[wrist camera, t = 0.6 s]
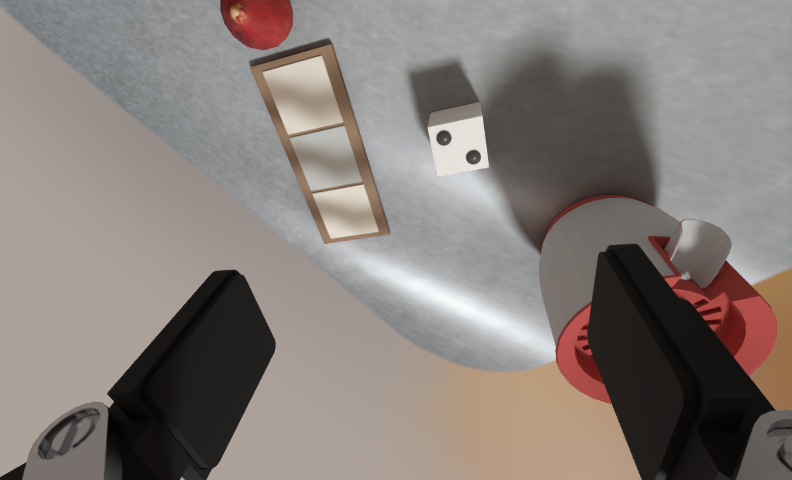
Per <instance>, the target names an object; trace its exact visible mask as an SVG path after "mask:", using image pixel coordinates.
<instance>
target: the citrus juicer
mask: <svg viewBox="0 0 792 480" xmlns="http://www.w3.org/2000/svg"><path fill="white" fill-rule="evenodd" d="M634 243H635V244H638V245H639V246H640V247H641V248H642V250H643V251H644V252H645V254H646V255H647V256H648V258H649V259H650V260H651V262H652V263H653V264H654V266H655V267H656V268H657V270H658V271H659V272H660V274H661V275H662V276H663V278H664V279H665V280H666V281H667V283H668V284H669V285H670V287H671V288H672V289H673V291H674V292H675V293H676V295H677V296H678V297H679V298H684V299H686V300H688V301H689V302H690V303H691V304H692V305H693V306H694V307H695V308H696V310H697V311H698V312H699V313H700V315H701V316H702V317H703V318H704V320H705V321H706V322H707V324H708V325H709V326H710V327H711V329H712V330H713V331H714V332H715V334H716V335H717V336H718V338H719V339H720V340H721V341H722V343H723V344H724V345H725V346H726V348H727V349H728V350H729V352H730V353H731V354H732V355H733V357H734V358H735V359H736V360H737V362H738V363H739V364H740V366H741V367H742V368H743V369H744V371H745V372H746V373H747V374H748V376H749V375H750V374H752V373H753V372H754V371H755V370H756V369H757V368H758V367H759V366H760V365H761V364H762V363H763V362H764V360H765V359H766V358H767V356H768V355H769V353H770V352H771V350H772V348H773V345H774V342H775V340H776V337H777V322H776V318H775V316H774V314H773V311H772V309H771V307H770V305H769V304H768V303H767V302H766V301H765V300H764V299H763V298H762V296H761V295H760V294H759V293H758V292H757V291H756V290H755V289H754V288H753V287H752V286H751V285H750V284H749V283H748V282H747V281H746V280H745V279H744V278H743V277H742V276H741V275H740V274H739V273H738V272H737V271H736V270H735V269H734V268H733V267H732V266H731V265H730V264H729V263H728V262H727V261H726V258H727V256H728V254H729V252H730V249H731V245H732V244H731V240H730V238H729V236H728V235H727V234H726V233H725V232H724V231H723V230H722V229H720V228H719V227H717V226H715V225H713V224H711V223H708V222H705V221H700V220H694V219H685V220H682V221H681V222H679V221H678V220H676V219H675V218H673V217H672V216H670V215H668V214H667V213H665V212H663V211H662V210H660V209H658V208H656V207H653V206H651V205H650V204H648V203H646V202H643V201H641V200H638V199H635V198H631V197H625V196H618V195H599V196H593V197H589V198H586V199H583V200H580V201H578V202H576V203H574V204H572V205H570V206H569V207H567V208H566V209H565V210H563V211H562V212H561V213H560V214H559V215H558V216H557V217H556V218H555V219H554V220H553V221H552V223H551V224H550V226H549V228H548V230H547V232H546V234H545V237H544V239H543V242H542V245H541V252H540V255H541V256H540V262H539V278H540V286H541V292H542V297H543V301H544V305H545V309H546V312H547V316H548V319H549V323H550V327H551V330H552V334H553V338H554V341H555V345H556V361H557V364H558V367H559V369H560V371H561V373H562V374H563V376H564V377H565V378H566V379H567V381H568V382H569V383H570V384H571V385H572V386H574V387H575V388H576V389H577V390H579V391H580V392H582V393H584V394H586V395H588V396H590V397H592V398H594V399H597V400H600V401H603V402H606V403H610V404H612V403H611V401H610V398H609V395H608V393H607V390H606V388H605V385H604V383H603V380H602V378H601V375H600V373H599V370H598V368H597V365H596V363H595V360H594V357H593V355H592V352H591V350H590V347H589V344H588V338H587V330H588V323H589V316H590V309H591V302H592V295H593V288H594V280H595V273H596V266H597V259H598V254H599V252H605V251H606V249H607V247H608V246H609V245H618V244H634Z"/></svg>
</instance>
